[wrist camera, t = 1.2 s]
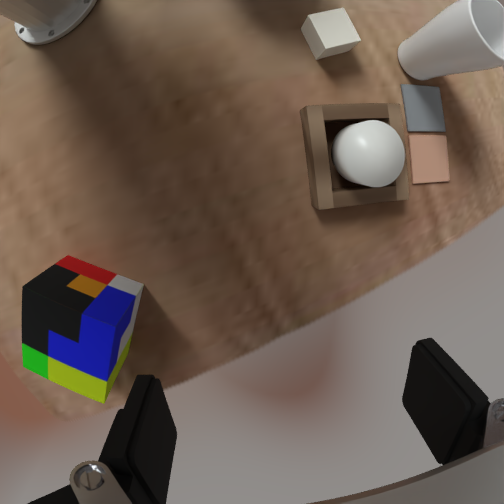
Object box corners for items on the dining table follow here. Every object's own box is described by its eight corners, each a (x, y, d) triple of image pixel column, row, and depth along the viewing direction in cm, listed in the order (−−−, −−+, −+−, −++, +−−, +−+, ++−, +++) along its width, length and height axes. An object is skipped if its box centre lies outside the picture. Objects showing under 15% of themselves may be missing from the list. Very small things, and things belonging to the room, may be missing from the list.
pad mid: (400, 84, 30) (401, 84, 30) (437, 87, 30) (439, 87, 30) (407, 131, 31) (408, 131, 31) (444, 131, 31) (445, 131, 31)
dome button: (327, 125, 29) (340, 121, 25) (382, 123, 29) (401, 119, 25) (334, 186, 31) (348, 190, 27) (388, 181, 31) (407, 184, 27)
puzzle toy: (144, 283, 35) (115, 326, 25) (128, 352, 37) (104, 403, 28) (68, 255, 33) (22, 286, 24) (60, 324, 36) (23, 366, 26)
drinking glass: (390, 79, 30) (473, 45, 15) (389, 28, 28) (462, -22, 13) (438, 93, 30) (526, 75, 16) (436, 44, 28) (516, 11, 14)
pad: (407, 135, 32) (409, 135, 31) (444, 135, 32) (445, 135, 31) (412, 183, 33) (413, 183, 33) (448, 180, 33) (449, 180, 33)
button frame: (299, 110, 31) (306, 105, 28) (387, 107, 31) (399, 103, 28) (311, 205, 33) (318, 209, 30) (396, 195, 33) (409, 199, 31)
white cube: (300, 29, 28) (307, 15, 24) (332, 21, 28) (343, 7, 24) (315, 60, 29) (325, 48, 25) (347, 51, 29) (361, 40, 25)
